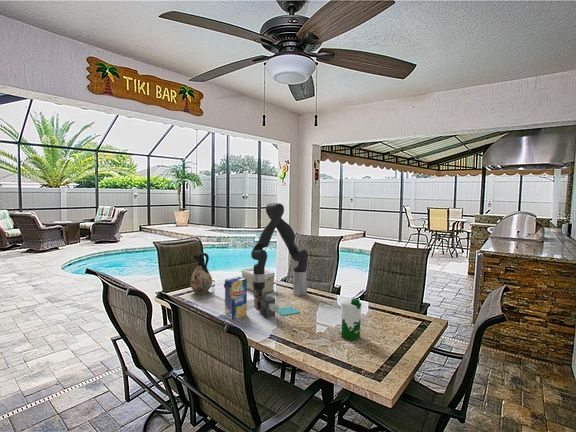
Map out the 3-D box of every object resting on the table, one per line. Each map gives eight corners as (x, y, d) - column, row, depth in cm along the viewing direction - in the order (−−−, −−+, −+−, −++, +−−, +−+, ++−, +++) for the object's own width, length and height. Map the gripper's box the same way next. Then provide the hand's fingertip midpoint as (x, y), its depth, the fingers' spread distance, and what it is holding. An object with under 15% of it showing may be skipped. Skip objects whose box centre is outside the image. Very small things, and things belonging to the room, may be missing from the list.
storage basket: (275, 291, 246) (275, 271, 245) (257, 295, 236) (257, 275, 235) (258, 284, 265) (258, 266, 264) (240, 287, 254) (240, 268, 253)
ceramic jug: (186, 294, 235) (185, 253, 233) (197, 288, 249) (197, 249, 247) (207, 297, 230) (206, 254, 228) (217, 290, 244) (217, 251, 242)
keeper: (270, 312, 201) (270, 295, 200) (275, 316, 195) (275, 299, 194) (260, 314, 198) (260, 297, 197) (265, 318, 192) (265, 300, 191)
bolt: (267, 301, 201) (267, 297, 201) (279, 310, 187) (279, 305, 187) (261, 302, 199) (261, 298, 199) (272, 311, 185) (272, 307, 185)
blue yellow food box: (246, 314, 197) (246, 278, 195) (232, 320, 189) (232, 282, 187) (239, 312, 201) (239, 276, 200) (224, 316, 193) (224, 280, 192)
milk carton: (354, 342, 162) (355, 303, 160) (338, 337, 167) (339, 299, 166) (362, 336, 168) (363, 298, 167) (347, 331, 174) (348, 295, 173)
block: (260, 306, 212) (260, 297, 212) (263, 308, 208) (263, 299, 208) (254, 307, 210) (254, 298, 210) (256, 309, 206) (256, 300, 206)
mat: (290, 306, 212) (290, 306, 212) (299, 312, 201) (299, 312, 201) (274, 309, 206) (274, 308, 206) (282, 316, 196) (282, 315, 196)
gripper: (268, 282, 203) (268, 309, 205) (260, 277, 216) (260, 302, 217) (257, 283, 200) (257, 311, 201) (249, 278, 213) (249, 304, 214)
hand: (258, 306), depth 209 cm, fingers closed on block, 4 cm apart
